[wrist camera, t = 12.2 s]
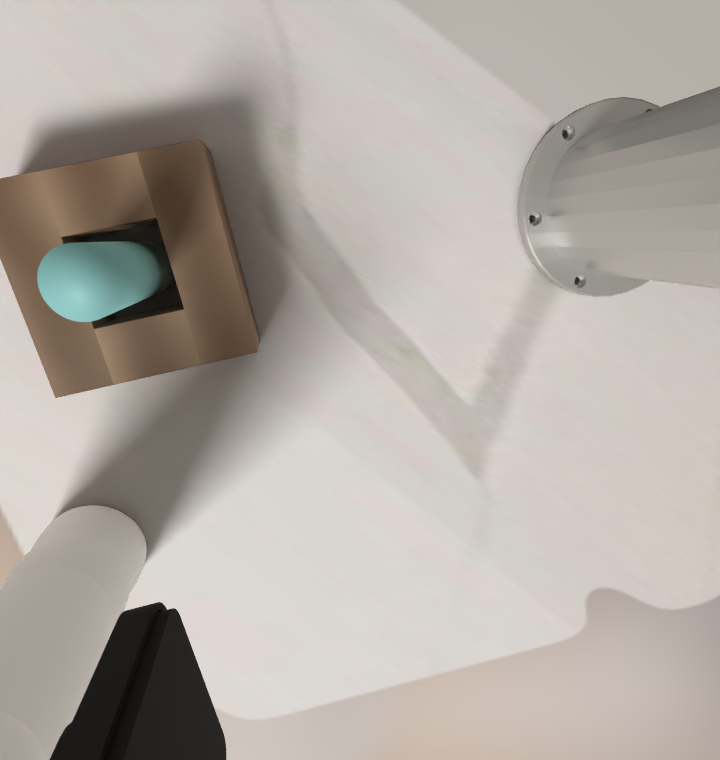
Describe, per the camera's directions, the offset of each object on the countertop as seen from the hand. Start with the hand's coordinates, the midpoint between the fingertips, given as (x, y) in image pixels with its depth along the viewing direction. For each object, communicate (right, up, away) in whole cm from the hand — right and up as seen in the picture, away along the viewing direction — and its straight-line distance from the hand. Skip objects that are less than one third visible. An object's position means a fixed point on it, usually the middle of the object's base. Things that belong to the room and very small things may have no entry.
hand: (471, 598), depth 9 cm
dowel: (-15, +11, +25) cm, 31 cm away
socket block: (-16, +11, +25) cm, 31 cm away
